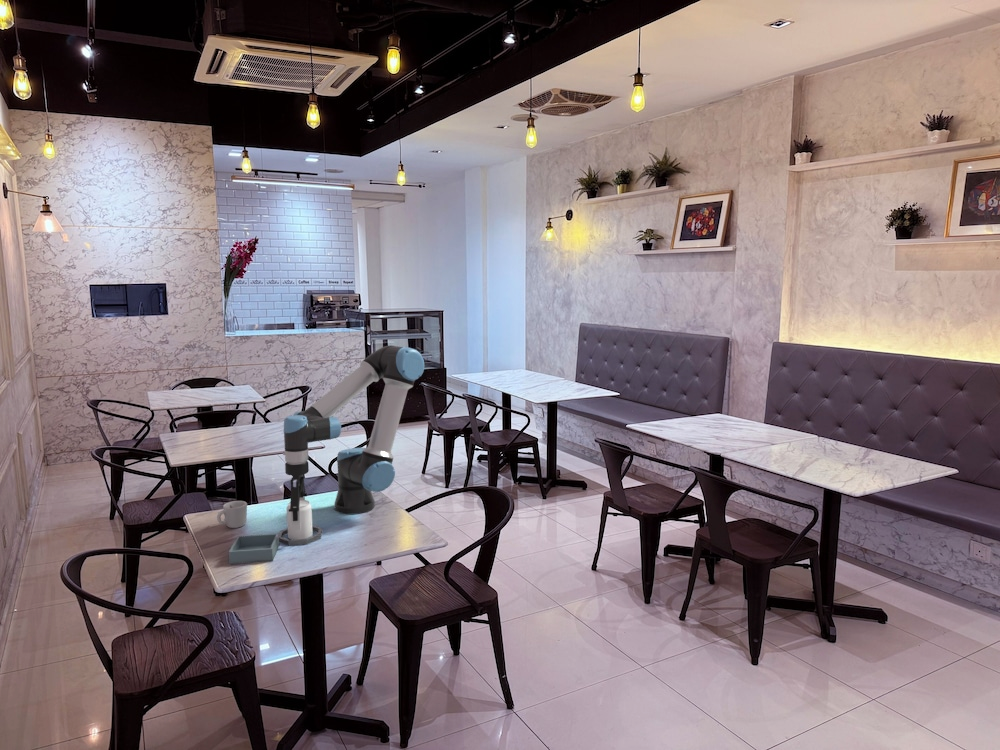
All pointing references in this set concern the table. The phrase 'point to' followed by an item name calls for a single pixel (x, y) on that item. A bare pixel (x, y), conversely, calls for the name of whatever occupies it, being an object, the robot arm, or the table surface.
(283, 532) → the collar
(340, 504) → the robot arm
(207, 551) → the table surface
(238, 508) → the cup
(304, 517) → the beverage can
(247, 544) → the bin
